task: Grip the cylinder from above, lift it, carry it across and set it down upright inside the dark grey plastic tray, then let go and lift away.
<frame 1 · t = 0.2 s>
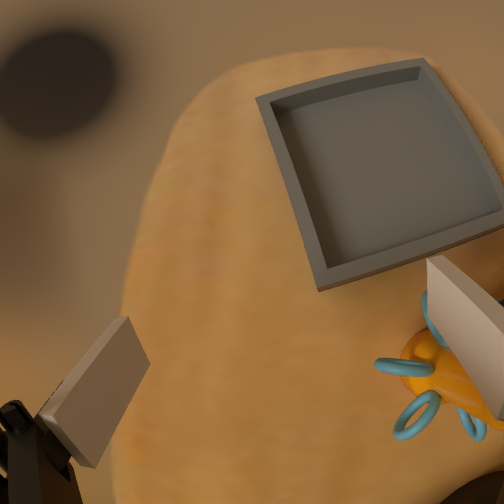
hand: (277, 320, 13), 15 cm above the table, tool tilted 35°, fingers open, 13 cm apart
tray: (383, 162, 29), on the table
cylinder: (429, 361, 24), on the table
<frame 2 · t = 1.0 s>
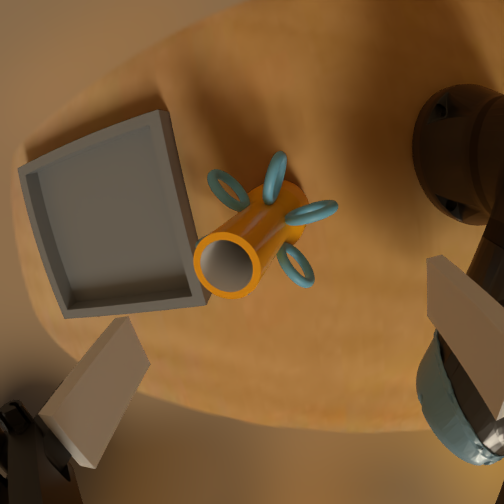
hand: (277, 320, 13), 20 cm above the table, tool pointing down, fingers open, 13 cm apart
tray: (110, 223, 34), on the table
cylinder: (279, 208, 32), on the table
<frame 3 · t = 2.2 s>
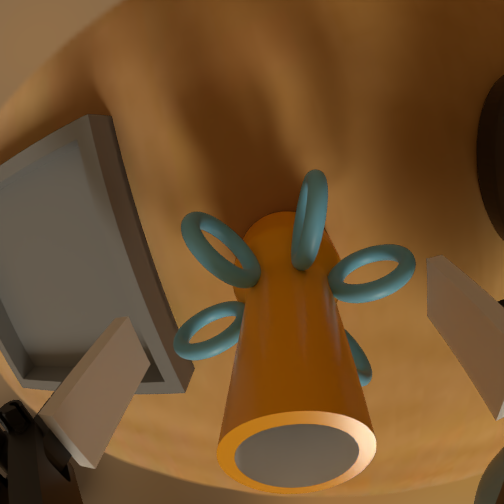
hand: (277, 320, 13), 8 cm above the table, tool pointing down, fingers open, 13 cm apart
tray: (53, 277, 23), on the table
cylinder: (285, 254, 21), on the table
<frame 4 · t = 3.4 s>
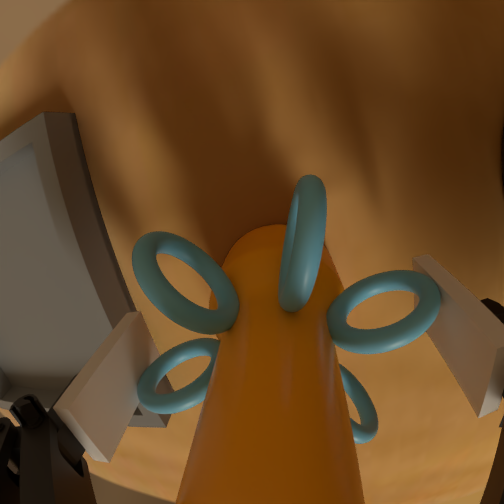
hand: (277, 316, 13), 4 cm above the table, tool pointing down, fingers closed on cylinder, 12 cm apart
tray: (22, 295, 20), on the table
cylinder: (277, 274, 18), on the table, touching gripper
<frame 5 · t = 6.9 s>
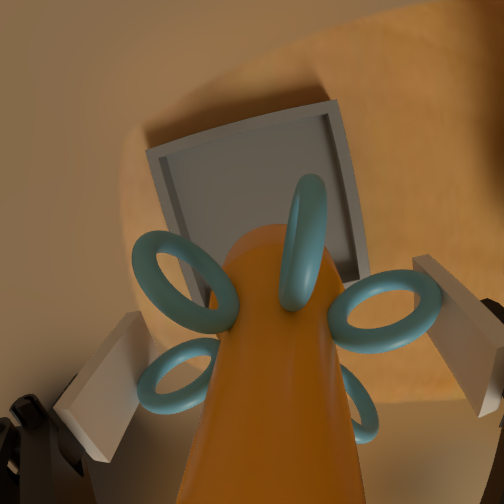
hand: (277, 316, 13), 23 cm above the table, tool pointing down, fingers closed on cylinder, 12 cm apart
tray: (263, 212, 35), on the table
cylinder: (277, 274, 18), point 18 cm above the table, touching gripper
when the fingers open (6 cm above the table, at t = 10.4 s): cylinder drops 1 cm, resting on tray.
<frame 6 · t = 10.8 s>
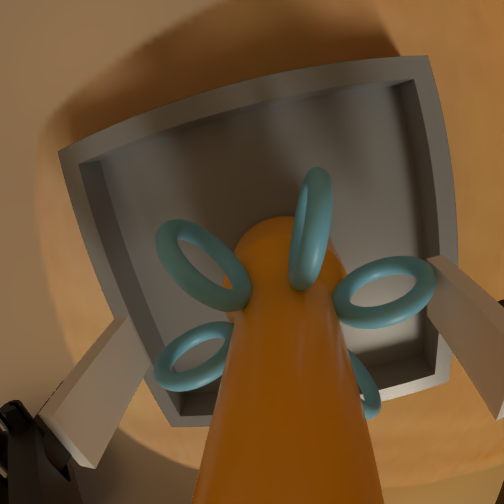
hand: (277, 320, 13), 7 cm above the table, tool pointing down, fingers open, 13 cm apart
tray: (278, 263, 19), on the table
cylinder: (284, 264, 19), resting on tray
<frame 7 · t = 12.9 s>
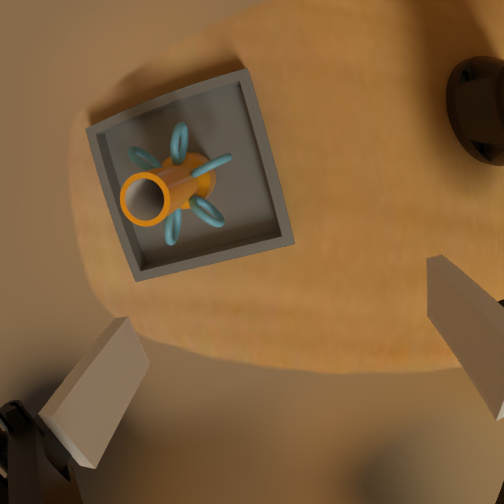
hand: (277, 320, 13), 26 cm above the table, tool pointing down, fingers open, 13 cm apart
tray: (189, 177, 37), on the table
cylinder: (191, 177, 37), resting on tray
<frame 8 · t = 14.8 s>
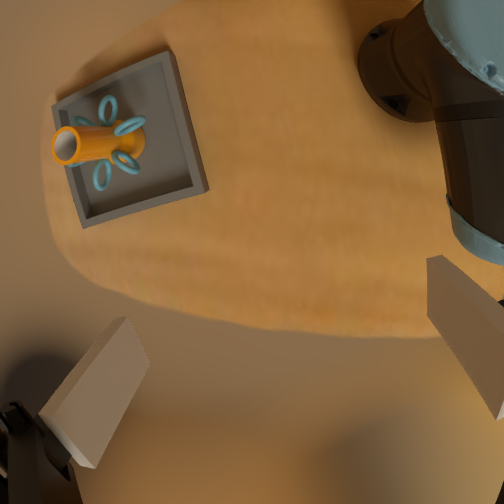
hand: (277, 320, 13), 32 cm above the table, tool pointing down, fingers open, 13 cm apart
tray: (127, 142, 42), on the table
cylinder: (127, 141, 41), resting on tray
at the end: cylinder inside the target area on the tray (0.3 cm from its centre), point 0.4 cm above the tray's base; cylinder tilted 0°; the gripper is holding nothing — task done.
